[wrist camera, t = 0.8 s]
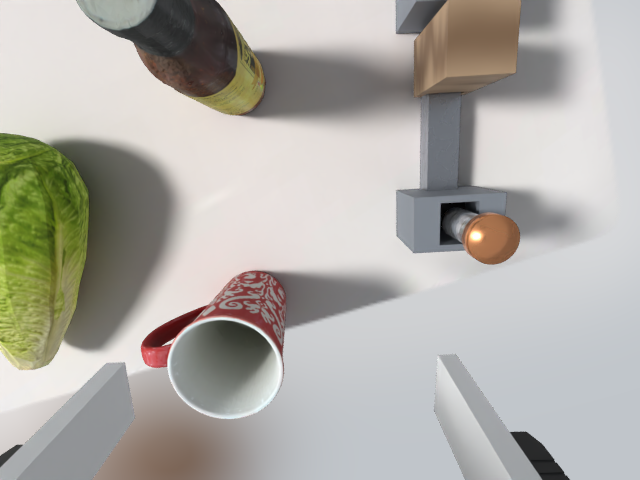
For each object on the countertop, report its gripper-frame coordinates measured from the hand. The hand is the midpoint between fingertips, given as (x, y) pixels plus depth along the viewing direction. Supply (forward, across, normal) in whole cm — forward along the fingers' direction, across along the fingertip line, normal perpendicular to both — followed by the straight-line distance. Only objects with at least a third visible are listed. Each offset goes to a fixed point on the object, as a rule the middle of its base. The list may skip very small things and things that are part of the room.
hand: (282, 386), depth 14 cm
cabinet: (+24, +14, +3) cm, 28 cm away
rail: (+24, +14, +13) cm, 31 cm away
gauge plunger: (+18, +14, +3) cm, 23 cm away
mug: (+24, -8, -6) cm, 26 cm away
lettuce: (+24, -28, 0) cm, 37 cm away
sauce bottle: (+24, -6, +16) cm, 30 cm away
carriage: (+24, +14, +17) cm, 33 cm away
